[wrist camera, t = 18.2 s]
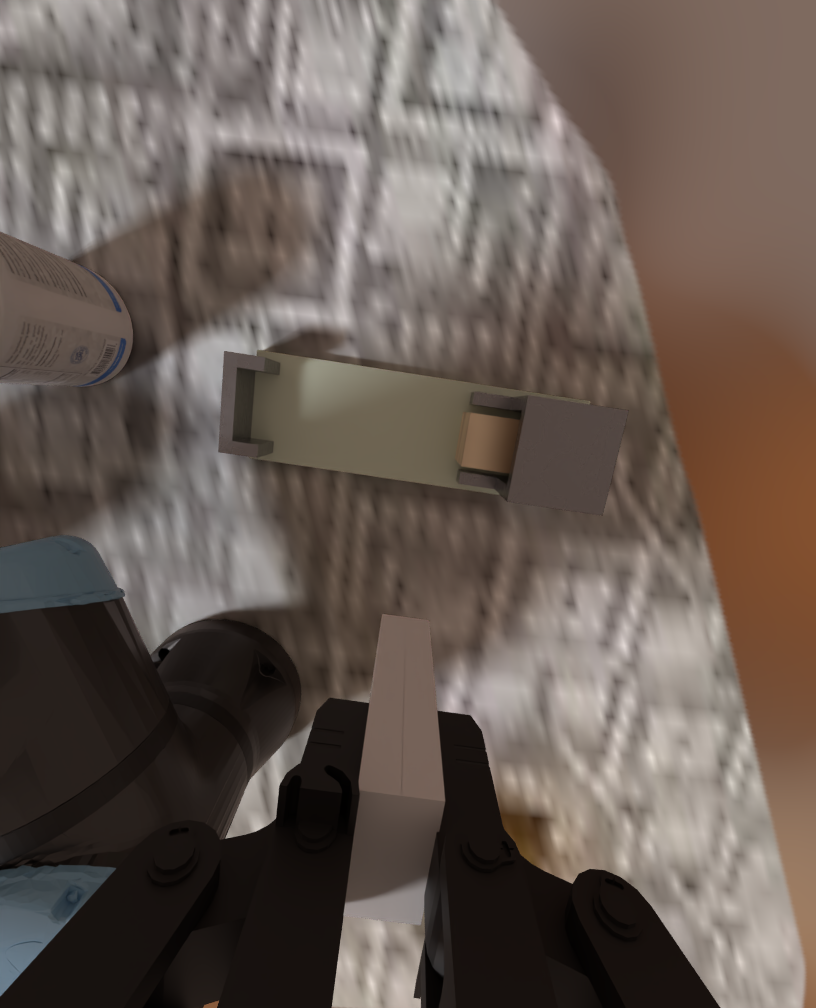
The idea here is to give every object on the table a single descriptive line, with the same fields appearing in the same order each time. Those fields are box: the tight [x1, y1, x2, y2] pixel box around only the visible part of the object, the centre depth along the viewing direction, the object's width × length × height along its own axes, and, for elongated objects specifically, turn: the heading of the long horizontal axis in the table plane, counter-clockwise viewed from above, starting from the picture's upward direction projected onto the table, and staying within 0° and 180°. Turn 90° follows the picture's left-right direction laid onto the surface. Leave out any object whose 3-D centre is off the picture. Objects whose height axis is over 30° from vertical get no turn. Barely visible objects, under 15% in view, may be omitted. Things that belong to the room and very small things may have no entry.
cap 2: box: [456, 391, 629, 516], centre depth 34 cm, size 10×8×7 cm
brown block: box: [455, 412, 520, 473], centre depth 35 cm, size 8×4×5 cm, turn 82°
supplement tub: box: [0, 232, 133, 387], centre depth 30 cm, size 10×10×15 cm
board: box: [249, 350, 591, 495], centre depth 38 cm, size 28×9×1 cm, turn 82°
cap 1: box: [218, 351, 280, 458], centre depth 35 cm, size 3×8×4 cm, turn 172°
